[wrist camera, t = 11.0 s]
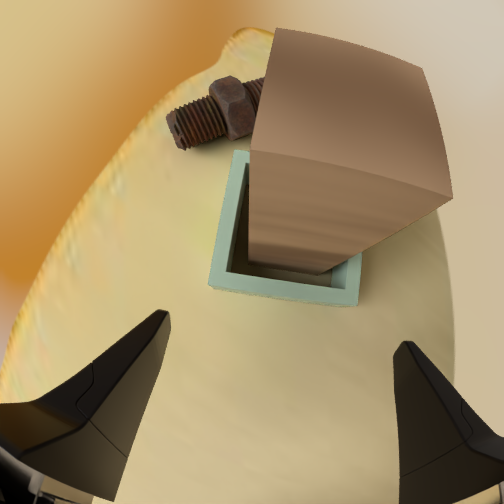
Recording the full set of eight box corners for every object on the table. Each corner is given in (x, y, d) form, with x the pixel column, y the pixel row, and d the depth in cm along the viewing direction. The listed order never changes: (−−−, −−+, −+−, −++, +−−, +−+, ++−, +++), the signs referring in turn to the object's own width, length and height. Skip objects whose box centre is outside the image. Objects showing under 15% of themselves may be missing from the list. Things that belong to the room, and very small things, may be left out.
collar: (340, 307, 17) (357, 306, 14) (214, 288, 17) (207, 284, 14) (348, 191, 19) (364, 172, 16) (236, 172, 19) (234, 149, 16)
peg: (316, 275, 17) (453, 198, 5) (248, 264, 18) (249, 149, 5) (323, 210, 18) (422, 68, 6) (259, 199, 18) (275, 27, 6)
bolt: (181, 152, 21) (337, 98, 22) (192, 181, 18) (373, 117, 19) (154, 90, 17) (330, 41, 18) (158, 106, 14) (370, 50, 15)
